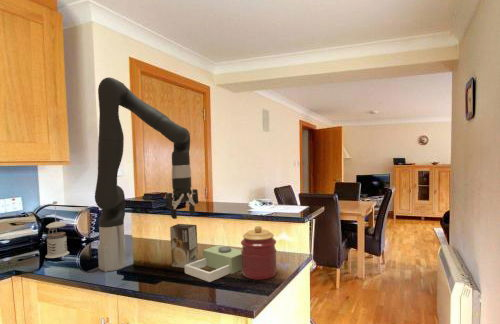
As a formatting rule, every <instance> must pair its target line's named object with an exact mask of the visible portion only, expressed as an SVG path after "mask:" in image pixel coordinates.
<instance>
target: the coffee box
mask: <svg viewBox="0 0 500 324" xmlns="http://www.w3.org/2000/svg"><path fill="white" fill-rule="evenodd" d="M169 228H170V229H169V231H170V233H169V235H170V236H169V237H170V254H171V255H170V256H171V267H174V268H181V269H185V265H187V264H190V263H192V262H195V261H198V260H199V250H198V230H197V229H198V226H197V224H188V223H186V224H185V223H177V224H175V225H172V226H170V227H169Z"/></svg>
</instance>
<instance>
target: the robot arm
mask: <svg viewBox="0 0 500 324" xmlns="http://www.w3.org/2000/svg"><path fill="white" fill-rule="evenodd" d="M97 95H98V108H99V116H98V117H99V119H98V121H99V123H98V137H97V138H98V139H97V140H98V142H97V145H98V146H97V180H96V186H95V191H94V201H95V205H96V206H97V207H98V208H100V209H101V214H100V217H99V219H98V230H99V231H98V234H99V235H98V236H99V244H98V245H97V257H98V262H97V263H98V269H99V270H100V271H103V272H105V273H107V272H112V271H118V270H121V269H124V268H125V267H126V265H127V264H126V262H127V261H126V245H125V244H126V243H125V242H126V241H125V216H126V200H125V199H126V197H125V192H124V189H123V188H122V187H121V186H120V185H118V172H119V168H120V166H121V162H122V159H123V155H124V144H125V140H124V139H125V137H124V130H123V128H122V124H121V120H120V114H119V109H120V107H122V108H125V110H128V111H130V112H131V113H133V114H134V115H136V116H137V118H138V119H140V120H141V121H142V122H143V123H145V124H146V125H147V126H149V127H151V128H152V129H153V130H155V131H156V132H159V133H160V134H161V135H162V136H163V137H165V138H166V139H167V140H169V141H170V142H172V143H173V151H172V153H171V185H172V187H171V188H172V190H173V191H172V192H166V193H165V208H166V209H170V217H171V218H172V219H174V220H176V219H177V218H178V216H177V215H178V214H177V207H178V206H179V205H180V203H184V202H187V203H188V205H189V206H188V208H189V210H188V211H189V215H190V216H194V215H195V209H196V207H195V206H196V204H199V192H198V191H199V190H198V189H196V188H192V170H191V169H192V168H191V162H190V161H191V160H190V159H191V158H190V157H191V156H190V149H191V148H190V147H191V134H190V131H189V130H188V129H187V128H185V127H183V126H181V125H179V124H178V123H176V122H175V121H173V120H172V119H170V118H169V117H168V116H167V115H165V114H164V113H163V112H161V111H159V110H158V109H156V108H155V107H153V106H152V105H150V104H148V103H147V102H145V101H143V100H142V99H141V98H140V97H138V96H137V95H136V94H134V92H133V91H131V90H130V89H129V88H128V87H127V86H126V85H125V84H124V83H123V82H121V81H120V80H118V79H116V78H114V77H105V78H103V79H102V80H101V81H100V83H99V85H98V88H97Z"/></svg>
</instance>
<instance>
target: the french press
mask: <svg viewBox="0 0 500 324" xmlns="http://www.w3.org/2000/svg"><path fill="white" fill-rule="evenodd" d="M52 204H53V205H57V204H58V201H55V200H54V201H53V202H52ZM56 211H57V210H56V206H54V213H55V215H54V216H55V219H54V220H57V213H56ZM66 226H67V224H66V223H65V222H63V221H53V222H51V223H49V224H47V225H46V226H45V228H47V229H48V231H52V233H48V234H47V237H46V244H47V245H46V246H47V248H46V249H47V251H46V252H47V254H45V256H44V257H45V258H47V259H55V258H62V257H64V256H67V255H69V254H70V251H68V245H67V244H68V243H67V239H68V238H67V235H66V232H65V231H59V232H58V231H57V228H58V229H59V228H63V227H66ZM54 231H55V232H54Z"/></svg>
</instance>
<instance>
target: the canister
mask: <svg viewBox="0 0 500 324" xmlns="http://www.w3.org/2000/svg"><path fill="white" fill-rule="evenodd" d="M242 238H243V239H242V240H241V241H240V245H242V248H241V249H240V250H241V253H242V270H241V272H242V275H243V276H244V277H245V278H247V279H250V280H259V281H260V280H269V279H271V278H273V277H275V276H276V275H277V271H278V265H277V249H276V244H277V240H276V239H275V238H274V233H273V232H270V231H269V230H268V229H262V226H261V225H256V226H254V229H251V230H248V231H247V232H245V233H243V236H242Z"/></svg>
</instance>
